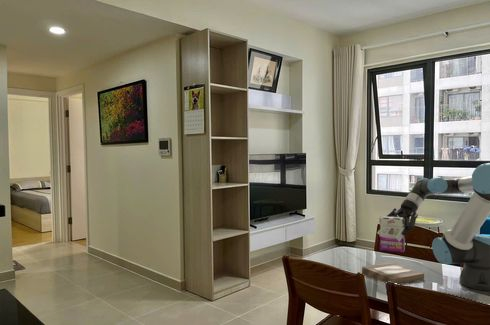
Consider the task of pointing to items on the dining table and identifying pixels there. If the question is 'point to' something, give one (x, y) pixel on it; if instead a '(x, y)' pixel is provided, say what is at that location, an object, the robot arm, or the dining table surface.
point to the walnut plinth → (393, 273)
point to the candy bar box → (391, 234)
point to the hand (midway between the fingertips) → (388, 237)
